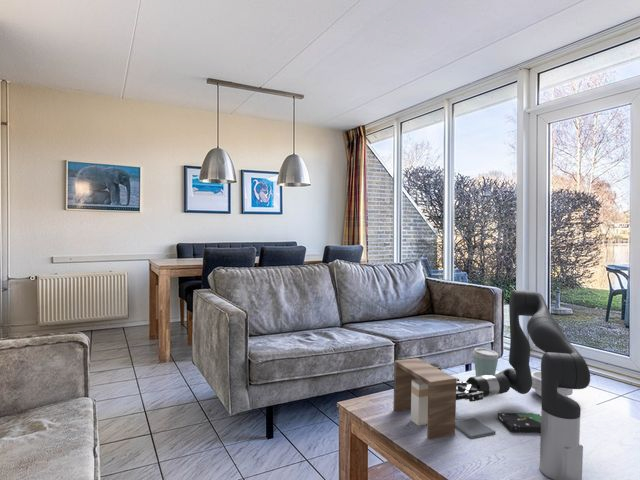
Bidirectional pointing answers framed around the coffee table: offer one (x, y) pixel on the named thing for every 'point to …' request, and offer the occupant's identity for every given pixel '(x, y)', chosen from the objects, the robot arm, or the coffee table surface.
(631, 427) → the coffee table surface
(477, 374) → the disposable coffee cup
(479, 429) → the mat
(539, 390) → the paper bowls
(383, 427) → the coffee table surface
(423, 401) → the carton
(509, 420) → the disk drive
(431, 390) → the shelf bay
